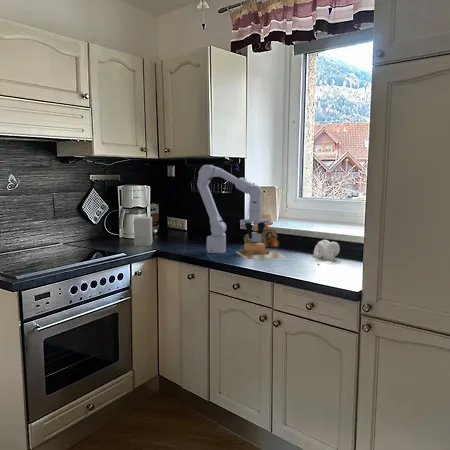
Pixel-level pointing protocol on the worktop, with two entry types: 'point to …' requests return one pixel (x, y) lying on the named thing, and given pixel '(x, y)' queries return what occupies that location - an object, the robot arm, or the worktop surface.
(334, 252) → the pretzel
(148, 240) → the supplement box
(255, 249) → the orange block
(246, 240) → the toy helicopter
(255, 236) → the pale grey rectangular block
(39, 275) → the worktop surface
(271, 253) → the jig
